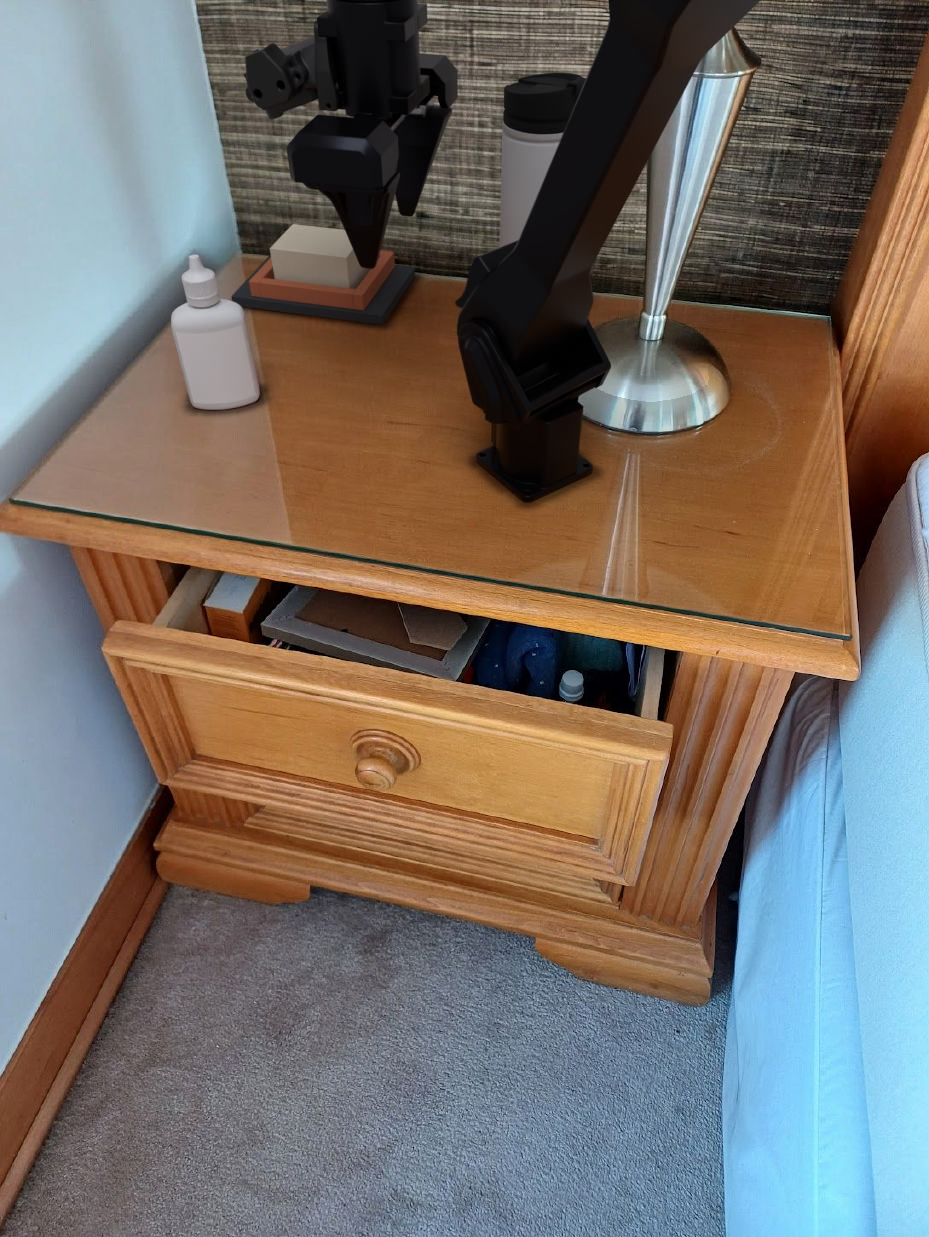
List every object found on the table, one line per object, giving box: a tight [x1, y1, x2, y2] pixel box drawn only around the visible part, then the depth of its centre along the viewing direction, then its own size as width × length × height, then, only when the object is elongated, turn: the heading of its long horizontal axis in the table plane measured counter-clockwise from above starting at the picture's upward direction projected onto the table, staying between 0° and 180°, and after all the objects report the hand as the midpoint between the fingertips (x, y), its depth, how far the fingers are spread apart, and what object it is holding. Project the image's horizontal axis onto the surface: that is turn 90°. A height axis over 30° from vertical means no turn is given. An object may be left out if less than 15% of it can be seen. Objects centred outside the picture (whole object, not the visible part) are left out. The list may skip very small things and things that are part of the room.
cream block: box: [269, 223, 370, 289], centre depth 85 cm, size 8×6×4 cm
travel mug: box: [499, 72, 586, 248], centre depth 76 cm, size 6×7×20 cm
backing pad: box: [231, 249, 416, 326], centre depth 87 cm, size 15×10×2 cm, turn 75°
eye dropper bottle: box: [170, 254, 261, 411], centre depth 70 cm, size 4×6×12 cm
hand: (388, 240), depth 68 cm, fingers open, 9 cm apart
